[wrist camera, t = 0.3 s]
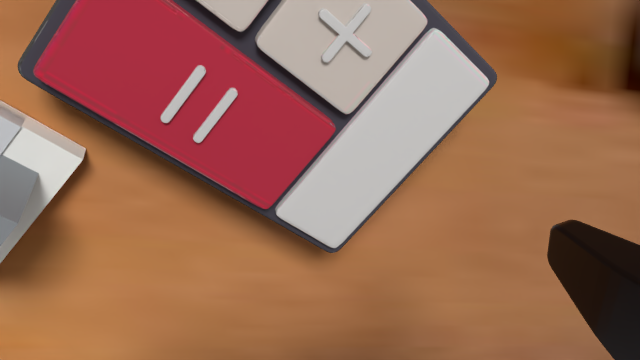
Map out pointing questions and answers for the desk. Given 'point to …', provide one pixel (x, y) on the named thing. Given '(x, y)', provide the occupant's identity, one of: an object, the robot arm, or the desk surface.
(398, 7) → the calculator
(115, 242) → the desk surface
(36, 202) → the rail board
